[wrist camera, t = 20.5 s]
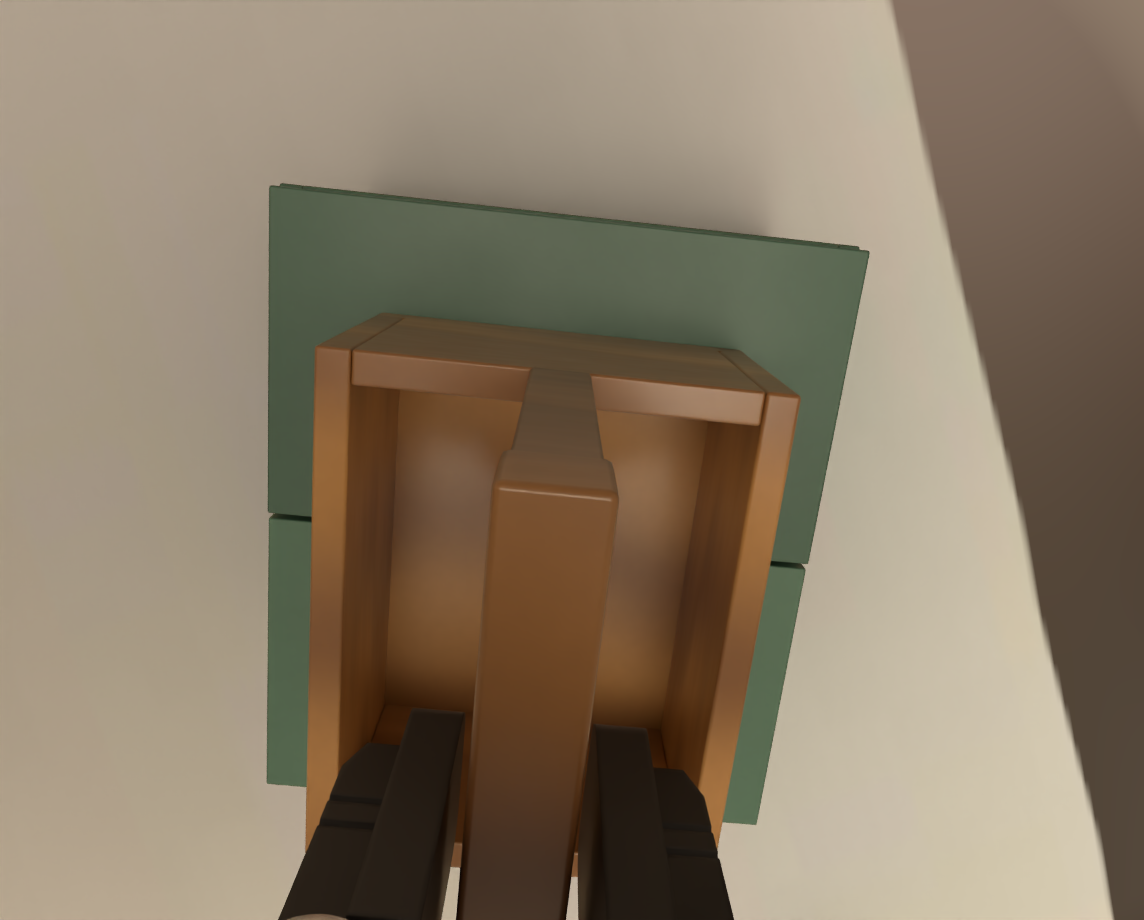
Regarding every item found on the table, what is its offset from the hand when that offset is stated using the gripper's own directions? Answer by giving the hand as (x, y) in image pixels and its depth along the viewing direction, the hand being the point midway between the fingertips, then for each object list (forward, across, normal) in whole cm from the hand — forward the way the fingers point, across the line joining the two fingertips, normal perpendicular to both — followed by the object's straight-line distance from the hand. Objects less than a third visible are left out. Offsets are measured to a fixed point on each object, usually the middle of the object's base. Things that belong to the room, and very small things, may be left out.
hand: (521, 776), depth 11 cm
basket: (+9, 0, 0) cm, 9 cm away
